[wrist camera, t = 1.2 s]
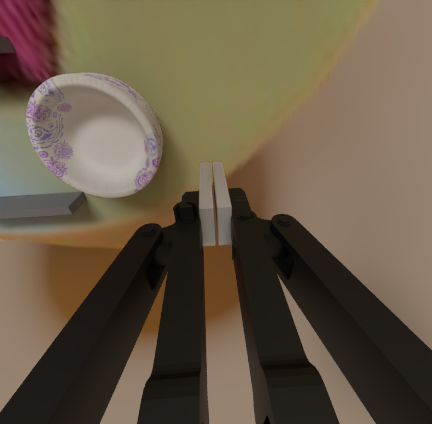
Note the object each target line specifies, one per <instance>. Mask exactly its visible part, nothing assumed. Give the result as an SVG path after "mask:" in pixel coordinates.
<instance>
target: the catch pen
mask: <svg viewBox="0 0 432 424" xmlns="http://www.w3.org/2000/svg"><path fill="white" fill-rule="evenodd" d="M6 53H15V51H14V49H13V47H12V45H11V43H10V41H9V38H8V37H3V36H0V54H6ZM85 200H86V197H85V195H84V193H83V192H73V193H57V194H41V195H25V196H9V197H0V219H9V218H24V217H40V216H55V215H71V214H73V213H74V212H75V211H76V210H77V208H78V207H79V206H80V205H81V204H82V203H83V202H84V201H85Z"/></svg>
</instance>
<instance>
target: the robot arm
mask: <svg viewBox="0 0 432 424" xmlns="http://www.w3.org/2000/svg"><path fill="white" fill-rule="evenodd" d="M212 168H213V186H214V199H215V209H216V219H217V230H218V240H219V245H229V244H231V240H232V259H233V260H234V266H235V274H236V280H237V287H238V293H239V301H240V307H241V314H242V320H243V327H244V334H245V341H246V348H247V354H248V362H249V368H250V375H251V382H252V388H253V399H254V413H255V421H256V424H339V421H338V419H337V416H336V413H335V411H334V408H333V405H332V403H331V400H330V397H329V395H328V392H327V390H326V387H325V384H324V382H323V380H322V378H321V376H320V374H319V372H318V370H317V369H316V367H315V366H313V365H312V364H311V363H310V362H309V361H308V359H307V357H306V355H305V352H304V349H303V346H302V344H301V341H300V338H299V335H298V332H297V329H296V326H295V324H294V321H293V318H292V315H291V312H290V310H289V307H288V304H287V301H286V298H285V295H284V292H283V290H282V287H281V284H280V281H279V278H278V276H277V274H278V275H279V277H280V279H281V280H282V282H283V283H284V285H285V286H286V288H287V289H288V291H289V292H290V294H291V295H292V297H293V299H294V300H295V301H296V303H297V305H298V306H299V308H300V309H301V310H302V312H303V314H304V315H305V317H306V318H307V320H308V321H309V323H310V324H311V326H312V327H313V329H314V330H315V332H316V333H317V335H318V336H319V338H320V339H321V341H322V342H323V344H324V345H325V347H326V348H327V350H328V352H329V353H330V355H331V356H332V358H333V359H334V361H335V362H336V364H337V365H338V367H339V368H340V370H341V371H342V373H343V374H344V376H345V377H346V379H347V380H348V382H349V383H350V385H351V386H352V388H353V389H354V391H355V392H356V394H357V395H358V397H359V399H360V400H361V402H362V403H363V405H364V406H365V407H366V409H367V411H368V412H369V414H370V415H371V417H372V418H373V420H374V421H375V423H376V424H432V350H431V349H430V348H429V347H428V346H427V345H426V344H424V342H423V341H421V340H420V339H419V338H418V337H417V336H416V335H415V334H414V333H413V332H412V331H411V330H410V329H409V328H408V327H407V326H406V325H405V324H404V323H403V322H402V321H401V320H400V319H399V318H398V317H397V316H395V314H393V313H392V312H391V311H390V310H389V309H388V308H387V307H386V306H385V305H384V304H383V303H382V302H381V301H380V300H379V299H378V298H377V297H376V296H375V295H374V294H373V293H372V292H371V291H370V290H369V289H368V288H367V287H365V286H364V285H363V284H362V283H361V282H360V281H359V280H358V279H357V278H356V277H355V276H354V275H353V274H352V273H351V272H350V271H349V270H348V269H347V268H346V267H345V266H344V265H343V264H342V263H341V262H340V261H338V259H336V258H335V257H334V256H333V255H332V254H331V253H330V252H329V251H328V250H327V249H326V248H325V247H324V246H323V245H322V244H321V243H320V242H319V241H318V240H317V239H316V238H315V237H314V236H313V235H312V234H311V233H310V232H309V231H307V230H306V229H305V228H304V227H303V226H302V225H301V224H300V223H299V222H298V221H297V220H296V219H294V218H293V217H292V216H289V215H286V214H277V215H275V216H273V218H272V220H264V219H260V218H258V217H257V216H256V214H255V213H254V212H253V211H251V208H250V206H249V203H248V200H247V197H246V195H245V192H244V191H243V190H242V189H241V188H231V189H228V188H227V184H226V179H225V174H224V169H223V165H222V161H217V162H212ZM173 210H174V215H175V220H176V222H175V223H174V224H173V225H171V226H168V227H164V228H161V226H160V225H158V224H155V223H149V224H146V225H143V226H141V227H140V228H139V229H138V230H137V231H136V232H135V233H134V235H133V236H132V237H131V239H130V240H129V241H128V243H127V244H126V245H125V247H124V248H123V249H122V251H121V252H120V253H119V255H118V256H117V257H116V259H115V260H114V261H113V263H112V264H111V265H110V267H109V268H108V269H107V271H106V272H105V273H104V275H103V276H102V277H101V279H100V280H99V282H98V283H97V284H96V286H95V287H94V288H93V289H92V291H91V292H90V293H89V295H88V296H87V297H86V299H85V300H84V301H83V303H82V304H81V305H80V307H79V308H78V309H77V311H76V312H75V313H74V315H73V316H72V317H71V319H70V320H69V321H68V323H67V324H66V325H65V327H64V328H63V329H62V331H61V332H60V333H59V335H58V336H57V337H56V339H55V340H54V341H53V343H52V344H51V345H50V347H49V348H48V349H47V351H46V352H45V353H44V355H43V356H42V358H41V359H40V360H39V361H38V363H37V364H36V365H35V367H34V368H33V369H32V371H31V372H30V374H29V375H28V376H27V377H26V379H25V380H24V381H23V383H22V384H21V385H20V387H19V388H18V389H17V391H16V392H15V393H14V395H13V396H12V398H11V399H10V400H9V402H8V403H7V404H6V405H5V407H4V408H3V410H2V411H1V412H0V424H100V422H101V419H102V417H103V415H104V413H105V410H106V408H107V406H108V404H109V401H110V399H111V397H112V394H113V392H114V390H115V388H116V386H117V383H118V381H119V379H120V377H121V375H122V372H123V370H124V368H125V366H126V363H127V361H128V359H129V357H130V354H131V352H132V350H133V348H134V345H135V343H136V341H137V338H138V336H139V334H140V332H141V330H142V327H143V325H144V323H145V320H146V318H147V316H148V314H149V312H150V310H151V307H152V305H153V303H154V300H155V298H156V296H157V294H158V292H159V289H160V287H161V285H162V283H163V280H164V278H165V276H166V274H167V271H168V274H167V280H166V287H165V293H164V300H163V306H162V312H161V319H160V325H159V332H158V339H157V345H156V352H155V359H154V364H153V370H152V373H151V376H150V378H149V379H148V380H147V382H146V384H145V387H144V390H143V395H142V399H141V404H140V410H139V416H138V422H137V424H209V412H208V400H207V399H208V397H207V363H206V328H205V292H204V291H205V289H204V254H203V246H214V245H215V229H214V212H213V199H212V186H211V174H210V162H200V182H199V191H192V192H185V194H184V195H183V196H182V202H180V203H177V204H176V205H175V206H174V208H173Z"/></svg>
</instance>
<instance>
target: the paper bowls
mask: <svg viewBox="0 0 432 424" xmlns="http://www.w3.org/2000/svg"><path fill="white" fill-rule="evenodd" d="M26 124H27V129H28V134H29V137H30V140H31V143H32V145H33V147H34V149H35V151H36V152H37V154H38V155H39V157H40V158H41V160H42V161H43V162H44V164H45V165H46V166H47V167H48V168H49V169H50V170H51V171H52V172H53V173H54V174H55V175H56V176H57V177H59V178H60V179H61V180H63V181H64V182H65V183H67V184H69V185H70V186H72V187H74V188H76V189H78V190H80V191H82V192H85V193H87V194H91V195H94V196H98V197H105V198H119V197H125V196H129V195H132V194H134V193H137V192H138V191H140V190H142V189H143V188H144V187H146V186H147V185H148V184H149V183H150V181H151V180H152V178H153V177H154V175H155V174H156V171H157V169H158V166H159V164H160V161H161V157H162V153H163V135H162V130H161V127H160V124H159V121H158V119H157V116H156V115H155V113H154V111H153V109H152V108H151V106H150V105H149V104H148V103H147V102H146V100H145V99H144V98H143V97H142V96H141V95H140V94H139V93H138V92H136V91H135V90H134V89H133V88H131V87H130V86H129V85H127V84H126V83H124V82H122V81H120V80H119V79H117V78H114V77H111V76H108V75H103V74H97V73H74V74H71V73H68V74H62V75H58V76H55V77H52V78H50V79H48V80H46V81H45V82H44V83H42V84H41V85H40V86H39V87H38V88H37V89H36V90H35V91H34V92H33V94H32V96H31V97H30V100H29V102H28V106H27V111H26Z"/></svg>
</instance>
